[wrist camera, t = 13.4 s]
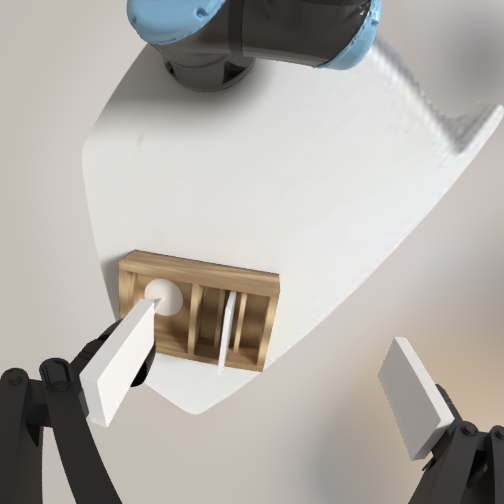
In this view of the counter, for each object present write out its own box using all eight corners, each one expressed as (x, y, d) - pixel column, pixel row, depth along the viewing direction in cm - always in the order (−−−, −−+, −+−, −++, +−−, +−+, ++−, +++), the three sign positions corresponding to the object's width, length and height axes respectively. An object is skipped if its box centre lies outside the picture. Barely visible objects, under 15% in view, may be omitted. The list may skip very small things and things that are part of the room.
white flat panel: (233, 280, 53) (225, 310, 43) (238, 280, 53) (231, 311, 43) (225, 338, 57) (217, 374, 47) (230, 338, 57) (222, 375, 47)
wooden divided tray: (135, 249, 54) (118, 262, 47) (278, 274, 54) (280, 290, 47) (135, 324, 59) (121, 343, 52) (263, 349, 59) (262, 372, 52)
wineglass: (145, 315, 57) (100, 380, 38) (141, 273, 54) (87, 329, 35) (184, 320, 56) (151, 391, 37) (183, 277, 54) (143, 339, 35)
